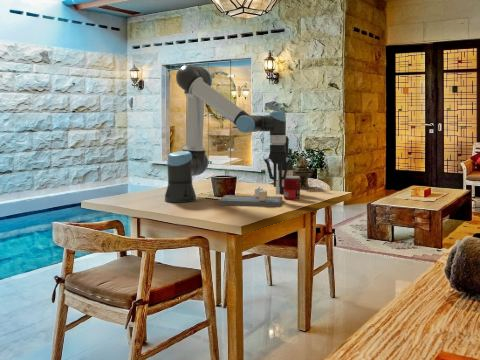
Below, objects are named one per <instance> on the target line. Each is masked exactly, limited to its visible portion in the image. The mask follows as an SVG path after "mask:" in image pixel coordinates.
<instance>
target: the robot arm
mask: <svg viewBox="0 0 480 360" xmlns="http://www.w3.org/2000/svg"><path fill="white" fill-rule="evenodd" d="M175 81H176V84H177V86H178V87H179V88H181V89H182V90H183V91H184V95H185V96H186V100H187V101H186V119H185V120H186V121H185V122H186V123H185V145H184V146H183V147H182V149H181V151H180V150H179V151H173V152H171V153H169V154H168V155H167V161H166V163H167V187H166V191H165V194H164V201H165V202H168V203H190V202H194V201H196V200H197V194H196V192H195V188H194V186H193V177H194V176H200V175H201V174H204V173H205V172H206V171H207V169H208V166H209V163H210V162H209V157H208V156H207V154H206V149H205V147H204V121H205V120H204V119H205V118H204V117H205V104H206V105H208V106H209V107H210V108H211V109H213V111H216V113H219V115H221V116H223V117H224V118H225V119H227V120H228V121H229V122H230V123H232V124H233V125H235V127H236V129H237V130H238V131H239V132H241V133H244V134H247V133H248V134H249V133H254V132H255V133H257V132H269V154H268V157H266V158H264V160H263V161H264V163H265V164H266V167H267V173H268V176H269V179H270V180H273V187H274V188H275V195H281V194H280V187H282V180H283V179H285V178H286V175H287V171H288V167H289V163H290V162H291V160H292V158H291V159H289V158H288V157H287V155H286V145H285V143H286V136H287V135H286V134H287V133H286V130H287V117H286V116H287V115H286V112H285V111H284V110H271V111H269V114H267V115H254V114H252V115H250V114H249V113H248V112H246V111H245V110H243V109H242V108H241V107H239V105H237V104H236V103H234V102H232V101H231V100H230V99H228V98H227V97H225V96H224V95H223V94H222V93H220V92H218V90H216V89H215V88H213V87H212V83H213V78H212V75H211V73H210V71H209V70H207V68H204V67H202V66H195V65H183V66H181V67H180V68H179V69H178V70H177V72H176V73H175ZM285 159H286V162H287V163H286V167H285V171H284V175H283V177H282V163H283V162H284V161H285ZM270 162H271V163H272V164H273V165H272V166H273V173H272V169H271V168H272V167H271V163H270ZM277 164H279V180H277Z"/></svg>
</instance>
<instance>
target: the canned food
mask: <svg viewBox="0 0 480 360" xmlns="http://www.w3.org/2000/svg"><path fill="white" fill-rule="evenodd" d="M300 198H301V189H300V177H299V176H286V178H285V179H284V194H283V199H284V200H287V201H297V200H300Z"/></svg>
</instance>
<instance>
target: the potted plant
mask: <svg viewBox="0 0 480 360" xmlns="http://www.w3.org/2000/svg"><path fill="white" fill-rule="evenodd" d="M293 155H294V156H295V157H297V158H298V160H297V161H296V165H293V176H299V177H300V190H309V189H311V188H310V185H309V182H308V181H309V177H310V176H311V175H312V173H313V171H312V170H311V169H310V168H309V167H307V166H308V163H307V162H308V161H307V159H306V158H307V156H308V154H307V155H305V157H303V156H302V155H300V156H299V155H296V152H293Z"/></svg>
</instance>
